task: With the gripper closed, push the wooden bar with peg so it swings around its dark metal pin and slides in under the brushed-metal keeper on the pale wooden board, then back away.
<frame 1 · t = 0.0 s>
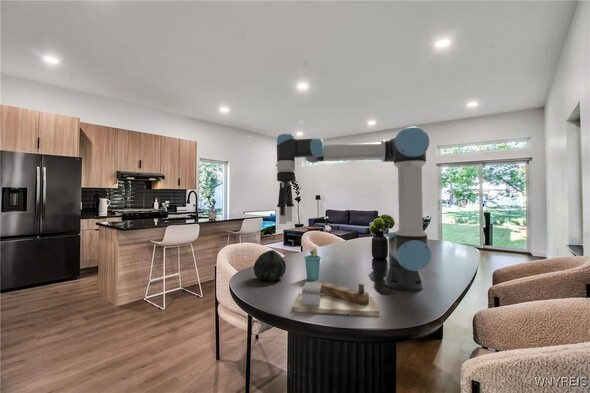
hand: (286, 222, 115), 28 cm above the table, tool pointing down, fingers open, 13 cm apart
wooden bar with peg: (338, 287, 102), point 5 cm above the table, hinge at -35.0°
cup: (312, 280, 130), on the table
pintle board: (335, 305, 97), on the table
keeper: (312, 304, 98), resting on pintle board
squash: (270, 279, 132), on the table
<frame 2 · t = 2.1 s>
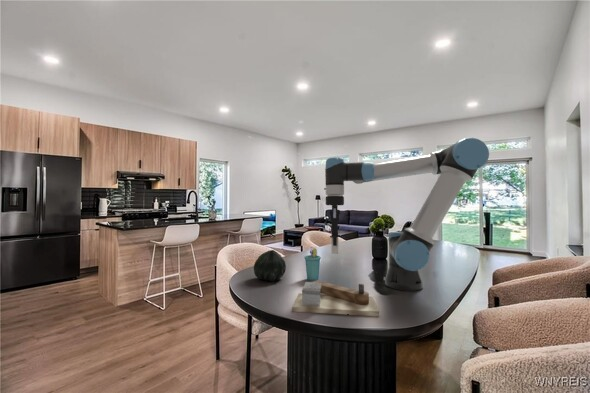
hand: (334, 253, 113), 16 cm above the table, tool pointing down, fingers closed
nothing on the table moved.
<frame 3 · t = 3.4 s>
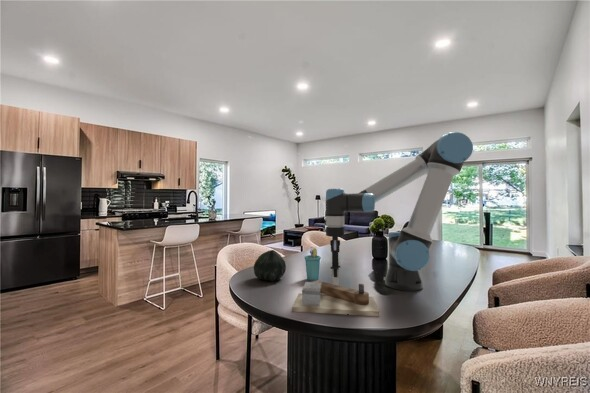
hand: (335, 284, 113), 3 cm above the table, tool pointing down, fingers closed
nothing on the table moved.
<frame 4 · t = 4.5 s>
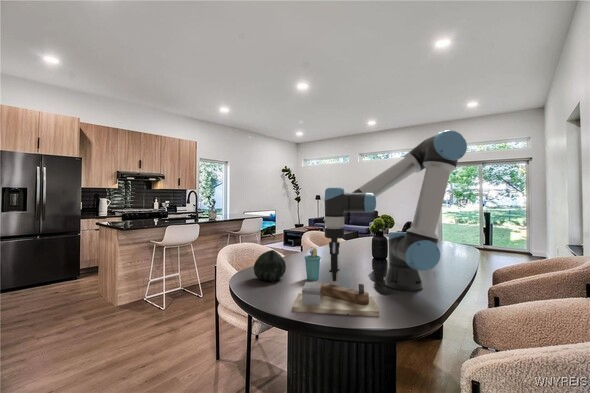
hand: (334, 288, 107), 3 cm above the table, tool pointing down, fingers closed
wooden bar with peg: (337, 287, 102), point 5 cm above the table, hinge at -31.9°, touching gripper
everything else where it was.
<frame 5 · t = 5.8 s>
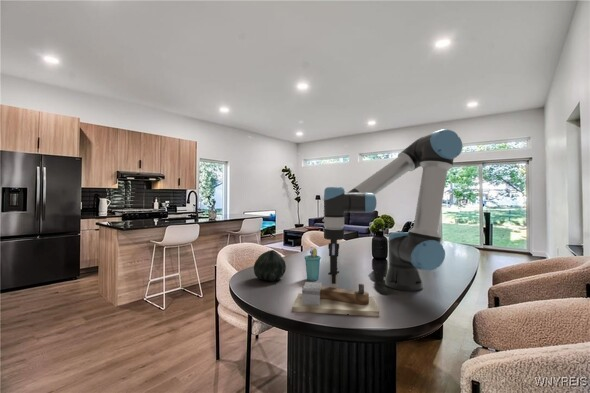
hand: (333, 291, 103), 3 cm above the table, tool pointing down, fingers closed
wooden bar with peg: (334, 289, 100), point 5 cm above the table, hinge at -16.9°, touching gripper
everything else where it was.
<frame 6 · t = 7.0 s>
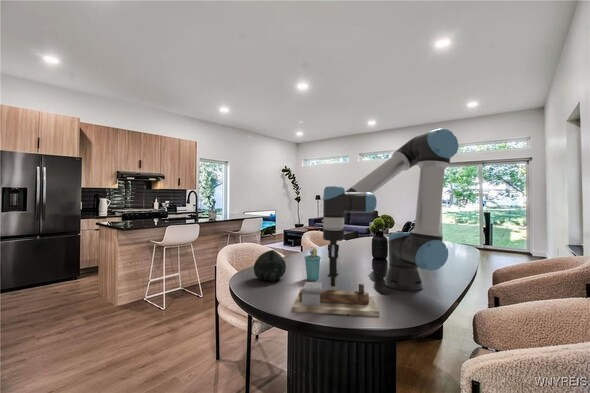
hand: (332, 294, 100), 3 cm above the table, tool pointing down, fingers closed
wooden bar with peg: (333, 292, 97), point 5 cm above the table, hinge at 0.1°, touching gripper
everything else where it was.
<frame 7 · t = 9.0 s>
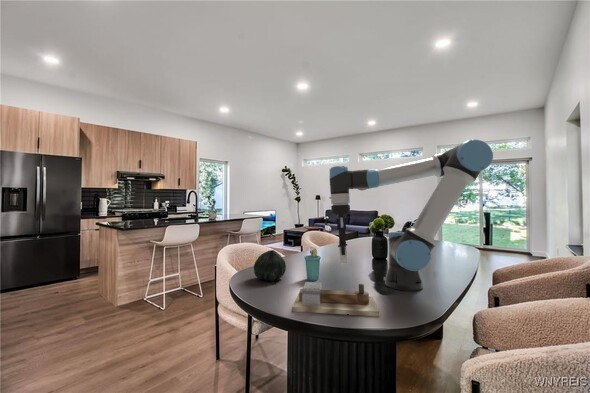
hand: (343, 262, 112), 12 cm above the table, tool pointing down, fingers closed
wooden bar with peg: (333, 292, 97), point 5 cm above the table, hinge at 0.1°
everything else where it was.
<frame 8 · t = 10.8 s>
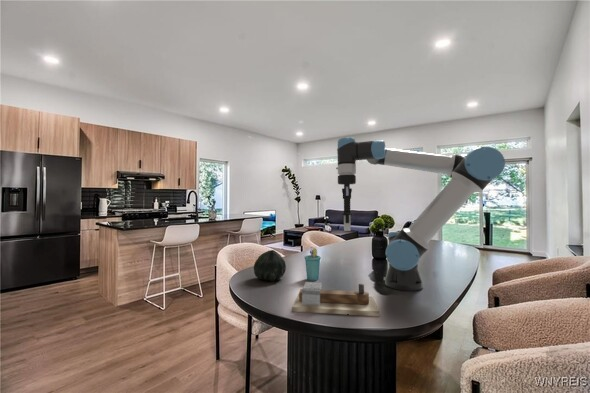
hand: (347, 230, 117), 24 cm above the table, tool pointing down, fingers closed
nothing on the table moved.
at the end: wooden bar with peg at +0° (first picture: -35°); the gripper is holding nothing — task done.
